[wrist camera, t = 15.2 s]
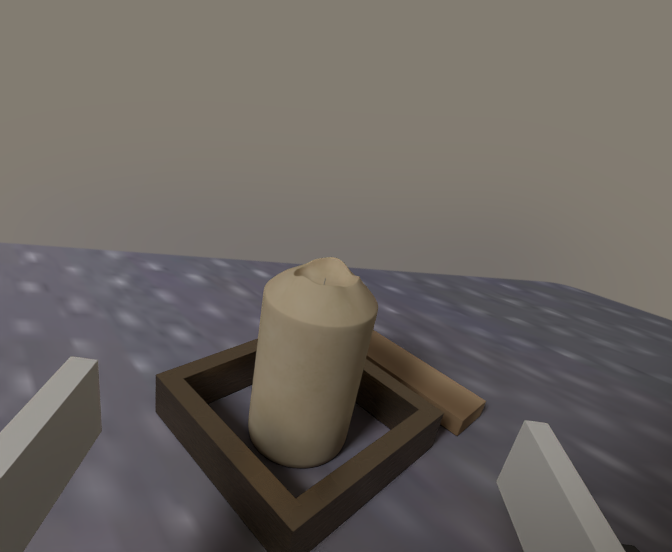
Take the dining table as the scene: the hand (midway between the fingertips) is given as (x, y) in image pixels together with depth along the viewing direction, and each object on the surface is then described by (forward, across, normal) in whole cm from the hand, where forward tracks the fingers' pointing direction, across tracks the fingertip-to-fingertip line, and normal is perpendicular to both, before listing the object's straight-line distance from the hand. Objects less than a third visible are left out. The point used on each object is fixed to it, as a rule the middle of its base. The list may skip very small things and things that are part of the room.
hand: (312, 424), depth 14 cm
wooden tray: (+8, 0, -8) cm, 12 cm away
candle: (+8, 0, -8) cm, 12 cm away
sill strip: (+15, +6, -8) cm, 18 cm away
